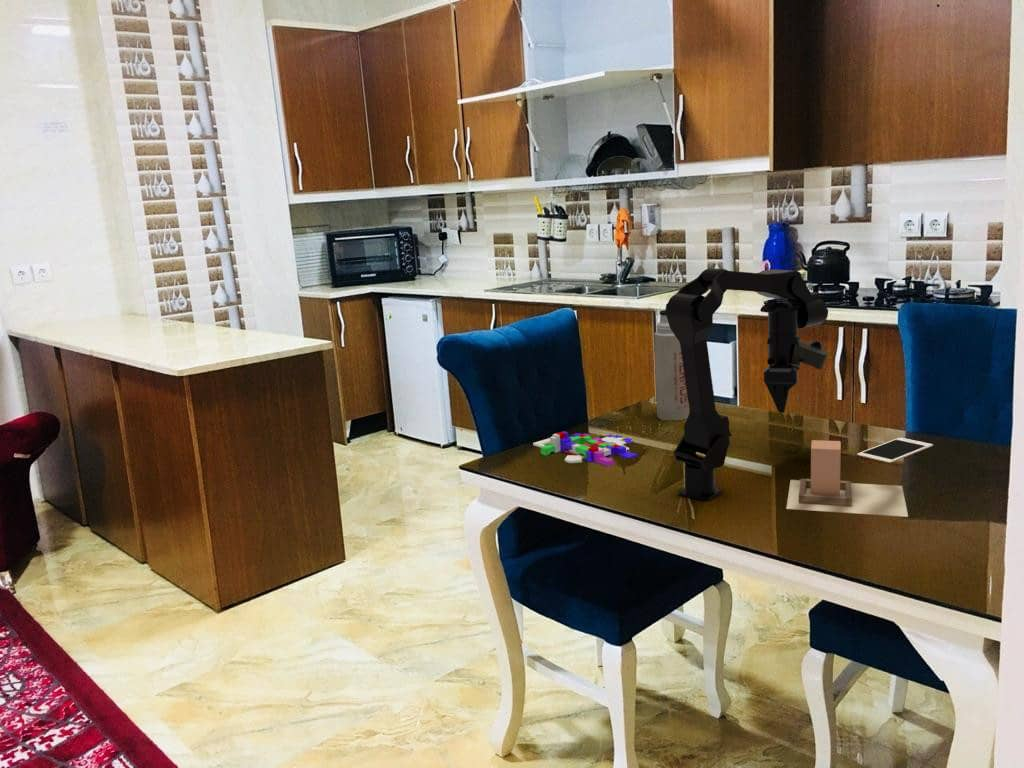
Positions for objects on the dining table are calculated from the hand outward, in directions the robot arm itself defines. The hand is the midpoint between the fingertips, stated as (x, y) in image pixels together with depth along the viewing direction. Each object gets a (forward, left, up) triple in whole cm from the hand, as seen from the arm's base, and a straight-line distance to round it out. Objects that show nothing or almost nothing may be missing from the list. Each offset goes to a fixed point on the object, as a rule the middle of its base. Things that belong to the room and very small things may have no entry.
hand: (782, 406), depth 173 cm
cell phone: (+20, -17, -14) cm, 30 cm away
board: (-14, -17, -13) cm, 26 cm away
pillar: (-15, -14, -12) cm, 24 cm away
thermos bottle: (+23, +38, -13) cm, 46 cm away
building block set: (-8, +43, -14) cm, 46 cm away
